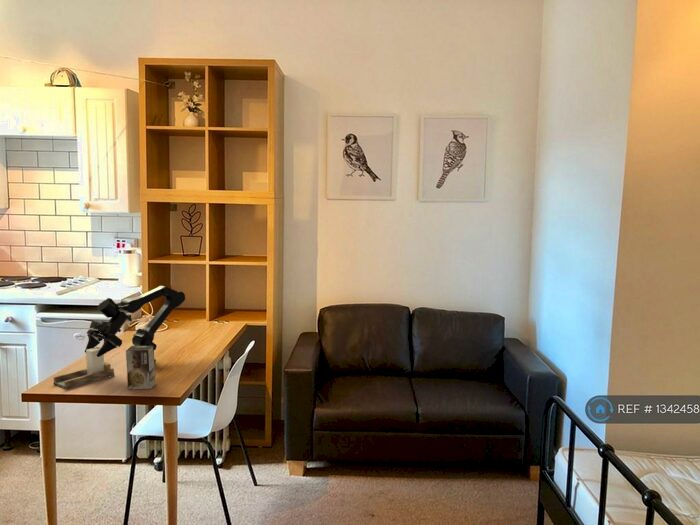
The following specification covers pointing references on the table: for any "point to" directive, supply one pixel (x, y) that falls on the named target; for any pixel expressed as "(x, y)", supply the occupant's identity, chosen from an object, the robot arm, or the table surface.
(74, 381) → the track
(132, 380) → the coffee box
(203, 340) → the table surface
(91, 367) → the block
